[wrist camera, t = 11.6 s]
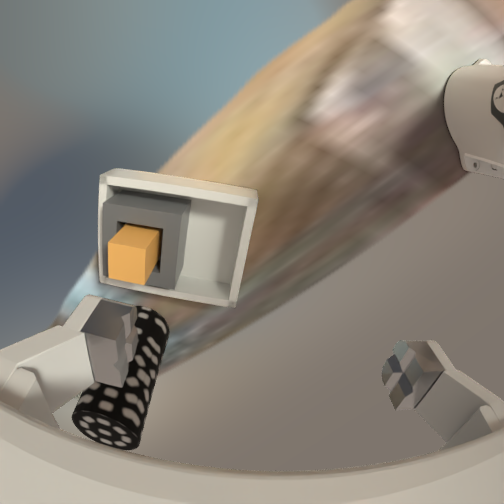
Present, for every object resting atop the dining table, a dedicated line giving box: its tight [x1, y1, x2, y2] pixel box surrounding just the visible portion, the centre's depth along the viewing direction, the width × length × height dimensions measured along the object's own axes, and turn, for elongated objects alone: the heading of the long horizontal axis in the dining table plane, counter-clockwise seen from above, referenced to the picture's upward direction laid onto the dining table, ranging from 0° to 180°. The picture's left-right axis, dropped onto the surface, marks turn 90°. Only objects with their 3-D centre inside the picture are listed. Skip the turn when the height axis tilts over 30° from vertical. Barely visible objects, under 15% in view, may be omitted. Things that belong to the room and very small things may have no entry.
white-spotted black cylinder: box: [72, 306, 169, 450], centre depth 35 cm, size 8×8×20 cm
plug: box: [108, 223, 163, 285], centre depth 31 cm, size 4×4×7 cm
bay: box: [98, 168, 259, 308], centre depth 35 cm, size 18×14×7 cm
